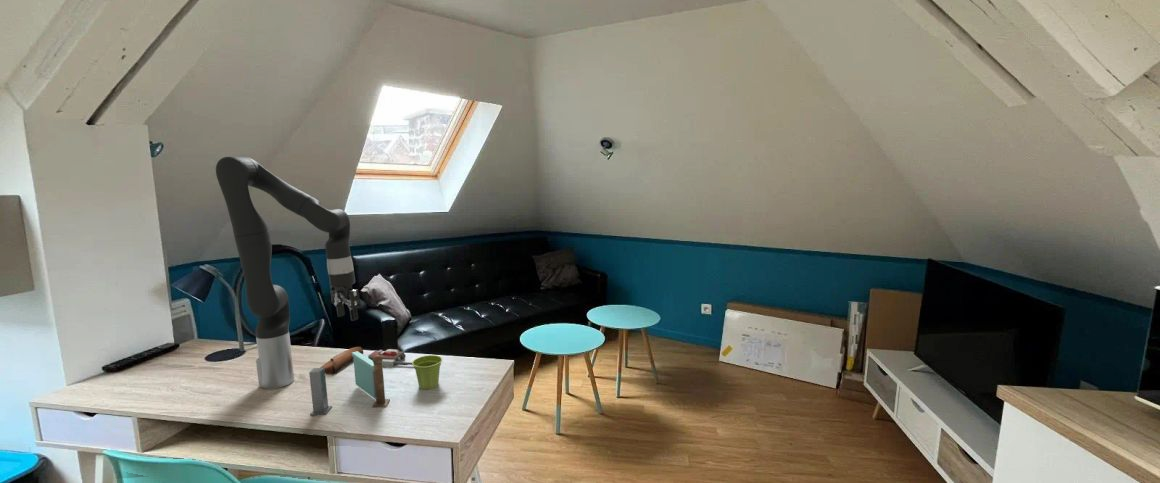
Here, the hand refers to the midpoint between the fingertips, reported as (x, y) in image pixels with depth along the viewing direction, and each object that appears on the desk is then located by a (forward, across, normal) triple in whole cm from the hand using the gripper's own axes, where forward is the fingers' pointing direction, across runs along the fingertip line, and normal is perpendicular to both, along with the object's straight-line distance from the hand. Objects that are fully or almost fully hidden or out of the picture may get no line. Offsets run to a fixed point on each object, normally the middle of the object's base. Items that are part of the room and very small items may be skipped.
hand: (348, 318), depth 158 cm
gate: (+21, +13, -4) cm, 25 cm away
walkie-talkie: (+23, -4, +16) cm, 28 cm away
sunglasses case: (+22, -19, +4) cm, 29 cm away
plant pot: (+23, +24, +11) cm, 35 cm away
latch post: (+22, +12, -18) cm, 30 cm away
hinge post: (+22, +22, -5) cm, 32 cm away
